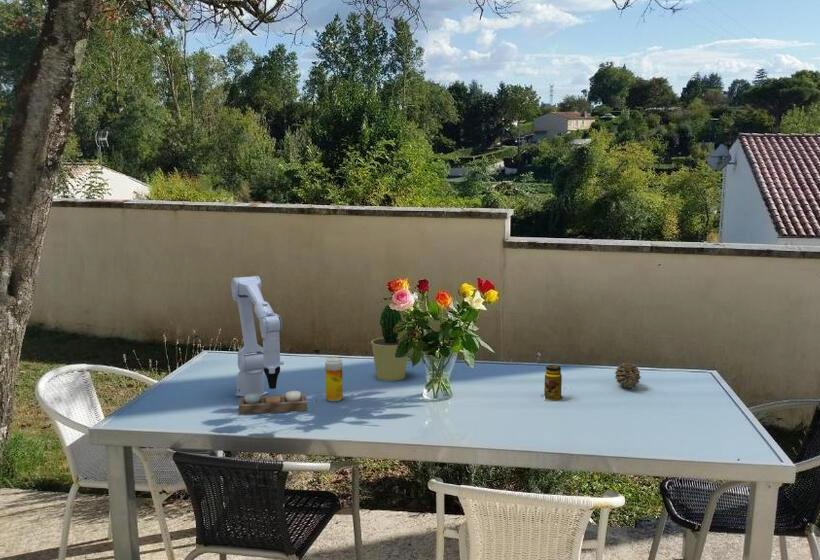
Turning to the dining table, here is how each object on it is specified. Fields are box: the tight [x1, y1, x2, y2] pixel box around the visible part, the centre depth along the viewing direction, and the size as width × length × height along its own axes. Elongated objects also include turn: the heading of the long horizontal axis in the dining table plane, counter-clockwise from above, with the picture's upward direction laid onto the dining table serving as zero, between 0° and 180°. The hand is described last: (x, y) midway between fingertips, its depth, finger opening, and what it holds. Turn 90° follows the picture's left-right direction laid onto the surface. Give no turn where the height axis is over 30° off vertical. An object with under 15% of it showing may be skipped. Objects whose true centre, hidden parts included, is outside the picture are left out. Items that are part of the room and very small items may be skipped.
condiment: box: [540, 364, 565, 402], centre depth 276 cm, size 7×8×12 cm
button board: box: [238, 393, 308, 416], centre depth 266 cm, size 23×10×3 cm, turn 100°
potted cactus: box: [370, 304, 409, 382], centre depth 303 cm, size 15×15×30 cm
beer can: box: [324, 357, 344, 403], centre depth 275 cm, size 6×6×15 cm
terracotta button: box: [265, 395, 281, 403], centre depth 266 cm, size 5×5×3 cm
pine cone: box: [614, 362, 642, 389], centre depth 292 cm, size 22×10×10 cm, turn 174°
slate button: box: [245, 393, 260, 404], centre depth 264 cm, size 5×5×3 cm
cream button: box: [285, 390, 302, 402], centre depth 267 cm, size 5×5×3 cm
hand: (272, 388), depth 265 cm, fingers closed
